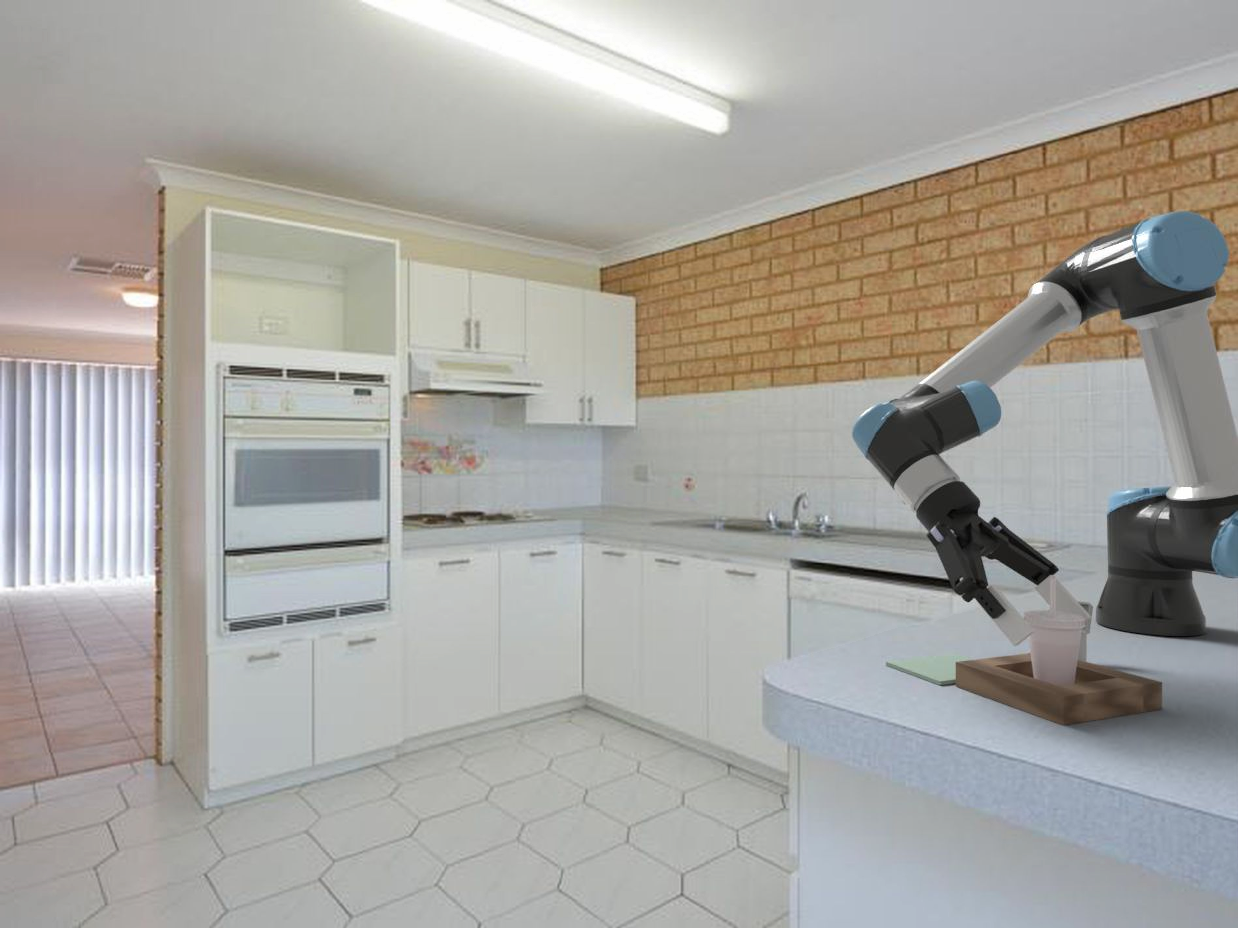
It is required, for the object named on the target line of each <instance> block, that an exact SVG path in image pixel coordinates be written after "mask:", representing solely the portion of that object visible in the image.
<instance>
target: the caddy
mask: <svg viewBox="0 0 1238 928" xmlns="http://www.w3.org/2000/svg"><path fill="white" fill-rule="evenodd" d="M955 687H956V688H959V689H963V690H965V691H968V692H970V693H972V694H976V695H978V696H981V697H984V698H987V699H990V700H993V701H995V702H997V703H998V702H999V703H1001V704H1004V705H1006V706H1009V707H1011V708H1015V709H1018V710H1020V711H1023V712H1026V713H1028V714H1031V715H1034V716H1037V717H1039V718H1043V719H1045V720H1048V721H1050V722H1053V723H1056V724H1058V725H1062V726H1067V725H1068V726H1069V725H1074V724H1079V723H1086V722H1091V721H1097V720H1098V721H1100V720H1104V719H1109V718H1116V717H1121V716H1126V715H1128V716H1129V715H1135V714H1140V713H1144V712H1151V711H1152V712H1153V711H1157V710H1162V709H1163V682H1162V681H1159V680H1157V679H1156V680H1155V679H1152V678H1147V677H1144V676H1139V675H1136V674H1133V673H1128V672H1125V671H1121V670H1118V669H1114V668H1110V667H1107V666H1102V665H1099V664H1095V663H1091V662H1088V661H1086V662H1084V661H1081V660H1078V661H1077V668H1076V675H1075V682H1074V684H1071V685H1064V686H1057V685H1054V684H1051V683H1048V682H1045V681H1041V680H1038V679H1035V678H1034V676H1033V668H1032V661H1031V653H1030V652H1029V653H1022V654H1020V653H1019V654H1011V655H1003V656H997V657H996V656H995V657H988V658H979V659H974V660H969V661H960V662H956V683H955Z"/></svg>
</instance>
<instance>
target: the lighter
mask: <svg viewBox="0 0 1238 928" xmlns="http://www.w3.org/2000/svg"><path fill="white" fill-rule="evenodd" d="M1077 602H1078V603H1079V604H1080V605H1081V606H1082V607H1083V608H1084V609H1085V610H1086V611H1087V613H1088V614H1089V615H1090V616H1091V617H1092V618H1090V619H1089V620H1088V621H1086V622H1085V627H1084V628H1082V632H1081V641H1080V647H1079V654H1078V660H1081V661H1084V662H1087V636H1088V635H1089V634H1090V633H1091V627H1092V626H1091V624H1092V619H1093V612H1094V611H1093V610H1094V606H1093V605H1092V604H1091V603H1090V602H1089V601H1088V602H1087V601H1077Z"/></svg>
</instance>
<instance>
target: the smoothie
mask: <svg viewBox="0 0 1238 928" xmlns="http://www.w3.org/2000/svg"><path fill="white" fill-rule="evenodd" d="M1054 577H1055V576H1054ZM1054 577H1050V605H1049V607H1050V609H1049V610H1047V609H1045V610H1044V609H1038V610H1037V609H1036V610H1035V609H1034V610H1027V611H1024V612H1023V618H1024V620H1025V621H1026V622H1027V623H1028V624H1029V625H1030V627H1031V628H1032V629H1033V630H1034V631H1035V632H1034V633H1032V634H1031V635H1030V636H1029V637H1027V639H1028V644H1029V653H1031V661H1032V668H1033V676H1034V678H1035V679H1038V680H1041V681H1045V682H1048V683H1051V684H1054V685H1057V686H1064V685H1071V684H1074V682H1075V675H1076V668H1077V661H1078V654H1079V647H1080V641H1081V632H1082V628H1084V627H1085V618H1084V617H1083V616H1081V615H1077V614H1073V613H1068V612H1061V611H1056V579H1057V578H1056V577H1055V578H1054Z"/></svg>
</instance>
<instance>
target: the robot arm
mask: <svg viewBox="0 0 1238 928" xmlns="http://www.w3.org/2000/svg"><path fill="white" fill-rule="evenodd" d="M1229 254H1230V253H1229V247H1228V244H1227V241H1226V238H1225V236H1224V235H1223V233H1222V231H1221V230H1220V228H1218V226H1217V225H1216V224H1215V223H1214V222H1213V221H1211V220H1210V219H1209V218H1206V217H1205V218H1204V217H1203V216H1202V215H1200V214H1199V213H1197V212H1193V211H1188V210H1176V211H1172V212H1171V211H1170V212H1167V213H1164V214H1159V215H1154V216H1151V217H1149V218H1146V219H1143V220H1142V221H1140V222H1137V223H1135V224H1132V225H1129V226H1126V227H1124V228H1121V229H1119V230H1117V231H1114V232H1112V233H1109V234H1106V235H1102V236H1100V237H1098V238H1095V239H1093V240H1091V241H1090V242H1088V243H1086V244H1084V245H1083V246H1082V247H1080V248H1079V249H1077V250H1076V251H1074V252H1073V253H1072V254H1071V255H1069V256H1068V257H1067V258H1066V259H1064V260H1063V261H1062V262H1061V263H1059V264H1058V265H1056V266H1055V267H1053V269H1052V270H1051V271H1049V272H1048V273H1047V274H1046V275H1044V276H1043V277H1041V279H1040V280H1038V281H1037V282H1036V283H1034V284H1033V285H1032V286H1031V287H1030V289H1029V291H1028V293H1027V298H1026V299H1025V300H1023V301H1021V303H1019V304H1018V305H1016V306H1015V307H1014V308H1013V309H1012V310H1011V311H1009V312H1008V313H1007V314H1005V315H1004V316H1003V317H1002V318H1000V319H999V320H998V321H996V322H995V323H994V324H993V325H991V326H989V328H987V329H986V330H985V331H984V332H983V333H981V334H980V335H979V336H978V337H976V338H975V339H973V340H972V341H971V342H970V343H968V344H967V345H966V346H965V347H964V348H962V349H961V350H960V351H958V352H957V353H956V354H955V355H953V356H952V357H951V358H949V359H948V360H947V361H945V362H944V363H943V364H942V365H940V366H939V367H938V368H936V369H935V371H933V372H931V374H929V375H928V376H926V377H925V378H924V379H923V380H922V381H920V382H919V383H918V384H916V385H915V386H914V387H912V388H911V389H909V390H908V391H907V392H906V393H905V394H903V395H902V396H901V397H899V398H894V399H890V400H889V401H886V402H885V403H877V404H875V405H873V406H871V407H870V408H867V410H865V411H864V412H863V413H862V414H860V416H859V417H858V418H857V419H856V421H855V422H854V424H853V427H852V431H851V437H852V439H853V442H854V443H855V444H856V446H857V448H858V449H859V450H860V452H861V453H862V454H863V455H864V458H865V459H866V460H867V461H869V462H870V464H871V465H872V466H873V467H874V468H875V469H876V470H877V472H878V473H879V475H881V476H882V477H883V479H884V480H885V481H886V482H887V483H888V485H889V486H890V487H891V488H892V489H893V491H894V492H895V493H896V494H897V495H898V496H899V498H900V499H901V503H902V504H903V505H905V506H907V507H908V508H909V510H910V511H911V512H912V513H916V516H915V517H916V519H917V520H918V521H919V522H920V523H921V525H922V526H923V528H925V530H926V531H927V533H926V537H927V538H928V540H929V541H930V542H931V544H932V546H933V547H934V548H935V551H936V552H937V555H938V557H939V559H940V562H941V564H942V566H943V569H944V571H945V574H946V576H947V578H948V580H949V583H950V584H951V585H950V586H951V587H952V590H953V591H954V593H955V594H957V595H958V596H961V598H962V600H964V602H966V603H971V601H973V600H974V599H975V601H976V602H977V603H978V604H979V605H980V607H981V608H982V609H983V610H984V612H986V614H987V615H988V617H990V619H991V620H992V621H993V622H994V625H996V626H997V627H998V629H999V630H1000V631H1001V633H1002V634H1004V636H1005V637H1006V638H1007V640H1008V641H1009V642H1010V643H1011V645H1013V647H1017V646H1019V645H1020V644H1021V643H1023V641H1025V640H1026V639H1028V637H1029V636H1030V635H1031V634H1032V633H1034V632H1035V631H1034V630H1033V629H1032V628H1031V627H1030V625H1029V624H1028V623H1027V622H1026V621H1025V620H1024V616H1022V615H1021V614H1020V612H1019V611H1018V610H1017V609H1016V608H1015V606H1014V605H1013V604H1012V603H1011V602H1010V601H1009V599H1008V598H1007V597H1006V596H1005V595H1004V594H1003V592H1002V591H1001V590H1000V589H999V588H998V587H997V586H996V584H992V585H990V586H989V582H988V577H987V573H986V569H985V566H984V562H983V557H985V558H986V559H988V560H991V561H992V560H993V561H994V560H996V561H998V562H999V563H1001V564H1002V565H1004V566H1006V567H1007V568H1009V569H1010V570H1012V571H1014V573H1017V574H1019V575H1020V576H1021V577H1023V578H1024V579H1027V580H1028V581H1029V582H1031V583H1033V584H1034V585H1036V587H1035V588H1034V590H1035V591H1036V592H1037V593H1038V594H1039V595H1040V596H1041V597H1042V599H1043V600H1044V601H1045V602H1046V603H1047V604H1048V605H1049V606H1050V577H1054V578H1056V576H1055V574H1057V573H1058V572H1059V570H1060V569H1059V568H1058V566H1057V565H1056V564H1055V563H1053V561H1051V560H1049V559H1048V558H1047V557H1045V555H1043V554H1042V553H1041V552H1040V551H1038V550H1037V549H1035V548H1034V547H1033V546H1032V545H1030V544H1028V543H1027V542H1026V541H1025V540H1024V539H1022V538H1021V537H1019V536H1018V535H1017V534H1016V533H1014V532H1013V531H1011V529H1009V528H1008V526H1006V525H1005V524H1004V523H1003V522H1002V521H1001V520H1000V519H999V518H997V516H993V517H992V518H991V519H990V520H989V521H988V522H987V521H986V520H985V519H983V518H982V517H981V516H979V509H980V507H981V499H980V498H979V497H978V496H977V495H976V493H974V492H973V491H972V489H971V488H970V487H969V486H968V485H967V484H966V483H965V482H964V481H960V480H961V479H960V476H959V474H958V473H957V472H955V470H954V469H953V468H952V467H951V465H949V464H948V462H947V461H945V460H944V458H943V457H942V456H941V454H942V453H945V452H947V451H949V450H952V449H953V448H957V447H958V446H960V445H962V444H965V443H967V442H969V441H971V440H973V439H976V438H977V437H979V438H980V437H981V436H982V435H983V434H985V433H987V432H988V431H991V430H992V429H993V428H994V429H995V427H996V426H997V425H998V424H999V423H1000V421H1001V418H1002V407H1001V404H1000V402H999V398H998V396H997V394H996V393H995V392H994V391H993V389H992V387H994V385H996V384H997V383H998V382H1000V381H1001V380H1003V379H1004V378H1005V377H1006V376H1007V375H1008V374H1010V373H1011V372H1012V371H1013V370H1015V369H1017V368H1018V367H1019V366H1020V365H1021V364H1023V362H1025V361H1026V360H1027V359H1029V358H1030V357H1031V356H1032V355H1034V354H1035V353H1037V351H1039V350H1040V349H1042V348H1043V347H1044V346H1045V345H1047V344H1049V342H1050V341H1052V340H1053V339H1054V338H1055V337H1056V336H1058V335H1059V334H1060V333H1069V332H1073V331H1074V330H1075V329H1077V328H1078V327H1079V326H1081V325H1083V324H1084V323H1085V322H1087V321H1089V320H1091V319H1092V318H1095V317H1097V316H1100V315H1102V314H1105V313H1108V312H1111V311H1116V310H1118V312H1119V315H1120V319H1121V322H1122V323H1123V324H1126V325H1127V326H1130V327H1131V328H1133V329H1134V330H1136V333H1137V337H1138V341H1139V344H1140V348H1141V349H1140V350H1141V351H1142V352H1141V353H1142V357H1143V360H1144V365H1145V369H1146V372H1147V377H1148V381H1149V384H1150V388H1151V392H1152V396H1153V400H1154V403H1155V407H1156V411H1157V416H1158V419H1159V423H1160V427H1161V431H1162V436H1163V440H1164V444H1165V446H1166V452H1167V455H1168V458H1169V462H1170V467H1171V468H1170V469H1171V471H1172V474H1173V479H1174V482H1173V484H1172V486H1154V487H1152V486H1151V487H1138V488H1128V489H1120V490H1116V491H1114V492H1112V493H1111V494H1110V496H1109V498H1108V506H1107V512H1106V522H1107V523H1106V525H1107V526H1106V527H1107V530H1106V531H1107V532H1106V533H1107V535H1106V536H1107V580H1106V582H1105V584H1104V587H1103V590H1102V592H1101V595H1100V597H1099V599H1098V600H1099V601H1098V604H1097V605H1096V609H1095V623H1097V624H1098V625H1100V626H1103V627H1106V628H1111V629H1113V630H1119V631H1122V632H1123V631H1125V632H1130V633H1138V634H1144V635H1154V636H1168V637H1193V636H1194V637H1195V636H1200V635H1204V634H1206V633H1207V632H1206V631H1207V622H1206V621H1207V619H1206V616H1205V614H1204V611H1203V608H1202V606H1201V605H1202V604H1201V603H1200V600H1199V598H1198V595H1197V592H1196V590H1195V588H1194V584H1193V572H1196V573H1197V572H1198V573H1201V574H1202V573H1204V574H1210V575H1214V576H1215V575H1216V576H1220V577H1222V578H1226V579H1238V433H1237V428H1236V424H1235V419H1234V416H1233V412H1232V408H1231V404H1230V401H1229V396H1228V392H1227V389H1226V384H1225V380H1224V377H1223V373H1222V369H1221V365H1220V360H1219V355H1218V353H1217V352H1218V351H1217V348H1216V345H1215V344H1216V343H1215V341H1214V337H1213V336H1214V335H1213V332H1212V329H1211V324H1210V320H1209V315H1208V311H1209V310H1208V309H1209V308H1210V307H1211V306H1212V304H1213V303H1214V302H1215V300H1217V298H1218V297H1217V291H1216V289H1215V284H1216V283H1217V282H1218V281H1219V280H1221V278H1222V277H1223V276H1224V274H1225V272H1226V268H1225V267H1226V266H1228V264H1229V257H1230V256H1229ZM961 578H962V579H961ZM1056 611H1061V612H1068V613H1073V614H1077V615H1081V616H1083V617H1084V618H1085V622H1086V621H1088V620H1089V619H1090V618H1092V619H1093V616H1092V617H1091V616H1090V615H1089V614H1088V613H1087V611H1086V610H1085V609H1084V608H1083V607H1082V606H1081V605H1080V604H1079V603H1078V601H1077V599H1076V598H1075V597H1074V596H1073V595H1072V594H1071V593H1070V591H1069V590H1068V589H1066V587H1065V586H1064V585H1063V584H1062V583H1061V582H1060V581H1059V580H1058V579H1057V578H1056Z"/></svg>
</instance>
